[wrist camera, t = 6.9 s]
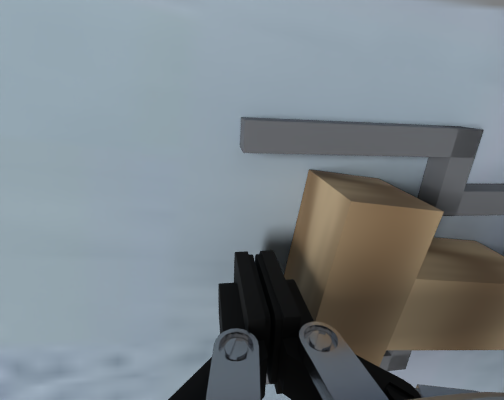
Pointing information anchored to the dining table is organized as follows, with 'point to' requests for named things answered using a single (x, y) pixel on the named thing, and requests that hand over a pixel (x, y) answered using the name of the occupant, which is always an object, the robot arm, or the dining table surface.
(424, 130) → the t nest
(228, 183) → the dining table surface
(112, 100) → the dining table surface
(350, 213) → the oak t block
